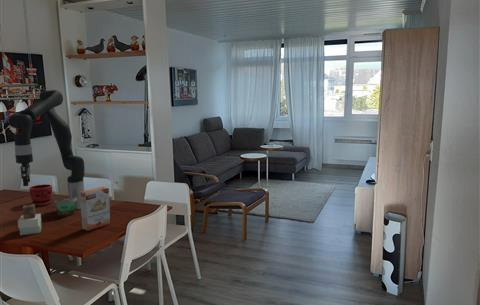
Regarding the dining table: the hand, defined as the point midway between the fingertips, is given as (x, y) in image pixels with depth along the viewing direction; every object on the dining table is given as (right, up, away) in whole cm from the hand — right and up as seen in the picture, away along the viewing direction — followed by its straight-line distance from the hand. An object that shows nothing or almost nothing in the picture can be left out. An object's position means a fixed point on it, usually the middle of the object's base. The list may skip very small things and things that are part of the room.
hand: (26, 184), depth 187 cm
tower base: (0, -26, +4) cm, 26 cm away
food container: (+7, -21, +28) cm, 36 cm away
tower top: (0, -22, +3) cm, 22 cm away
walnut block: (0, -18, +3) cm, 18 cm away
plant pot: (-20, -18, +51) cm, 57 cm away
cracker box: (+32, -24, +10) cm, 42 cm away
